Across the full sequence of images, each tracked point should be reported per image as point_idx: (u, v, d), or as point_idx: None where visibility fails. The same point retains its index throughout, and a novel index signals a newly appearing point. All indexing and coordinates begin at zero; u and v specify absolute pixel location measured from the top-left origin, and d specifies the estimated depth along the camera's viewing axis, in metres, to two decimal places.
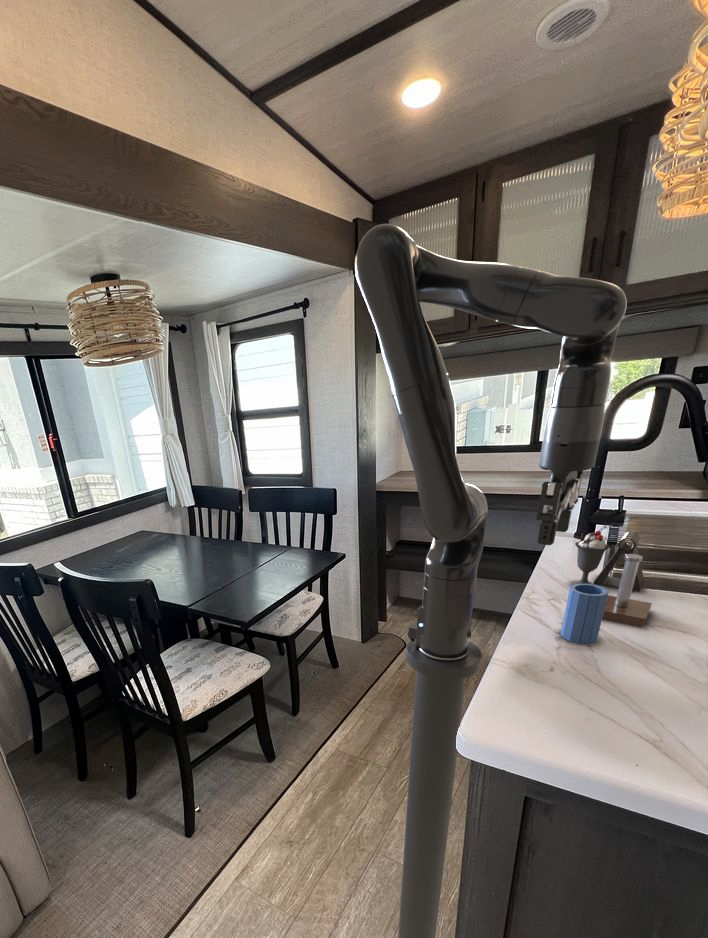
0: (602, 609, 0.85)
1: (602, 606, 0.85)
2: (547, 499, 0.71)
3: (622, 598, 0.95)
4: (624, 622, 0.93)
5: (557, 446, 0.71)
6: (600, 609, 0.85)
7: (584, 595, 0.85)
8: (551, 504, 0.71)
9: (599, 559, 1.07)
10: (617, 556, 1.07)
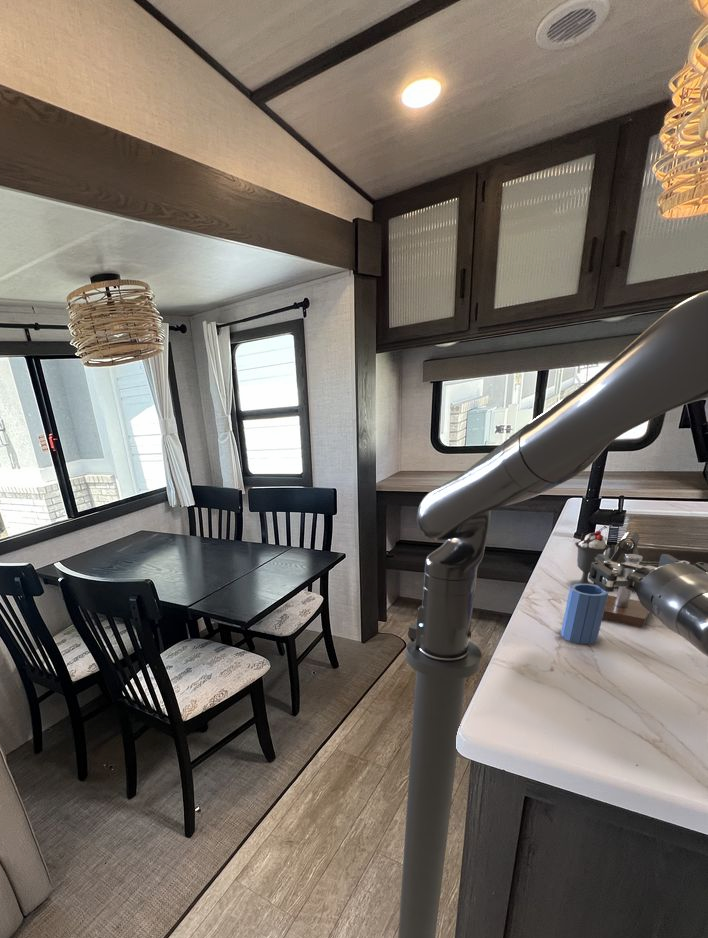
0: (602, 609, 0.85)
1: (602, 606, 0.85)
2: (599, 576, 0.67)
3: (622, 598, 0.95)
4: (624, 622, 0.93)
5: (653, 592, 0.60)
6: (600, 609, 0.85)
7: (584, 595, 0.85)
8: (596, 578, 0.68)
9: None
10: (617, 556, 1.07)
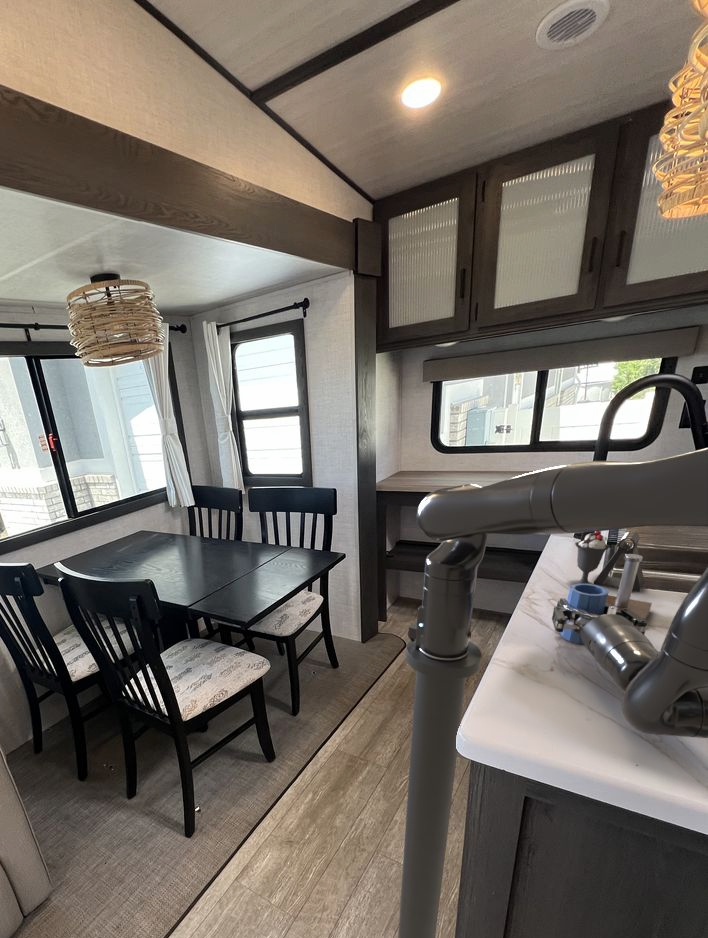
0: (602, 609, 0.85)
1: (602, 606, 0.85)
2: (555, 618, 0.85)
3: (622, 598, 0.95)
4: None
5: (591, 637, 0.77)
6: (600, 609, 0.85)
7: (584, 595, 0.85)
8: (553, 620, 0.86)
9: (599, 559, 1.07)
10: (617, 556, 1.07)
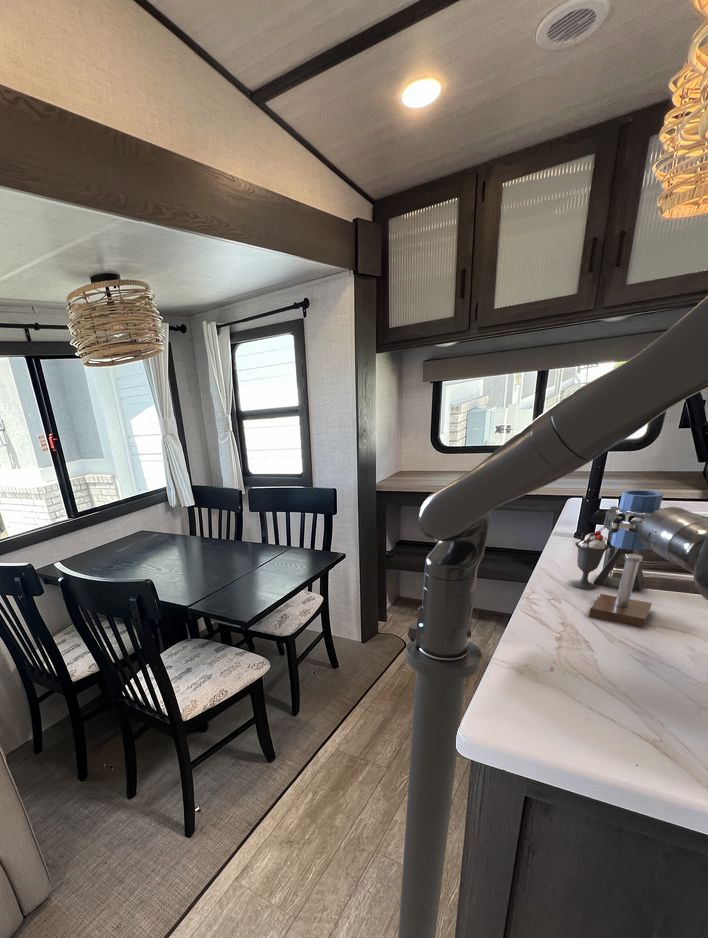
0: None
1: (657, 508, 0.84)
2: (608, 521, 0.84)
3: (622, 598, 0.95)
4: (624, 622, 0.93)
5: (650, 529, 0.76)
6: None
7: (638, 497, 0.83)
8: (606, 523, 0.85)
9: (599, 559, 1.07)
10: (617, 556, 1.07)
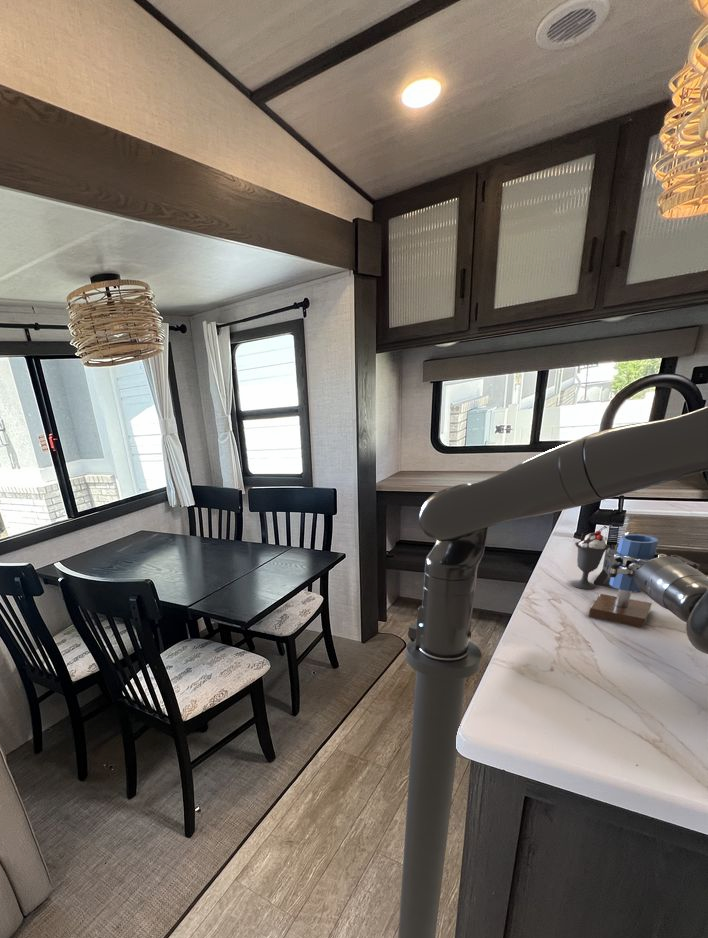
0: (652, 556, 0.89)
1: (652, 553, 0.89)
2: (607, 565, 0.89)
3: (622, 598, 0.95)
4: (624, 622, 0.93)
5: (646, 578, 0.81)
6: (650, 556, 0.89)
7: (635, 543, 0.89)
8: (605, 567, 0.90)
9: (599, 559, 1.07)
10: None
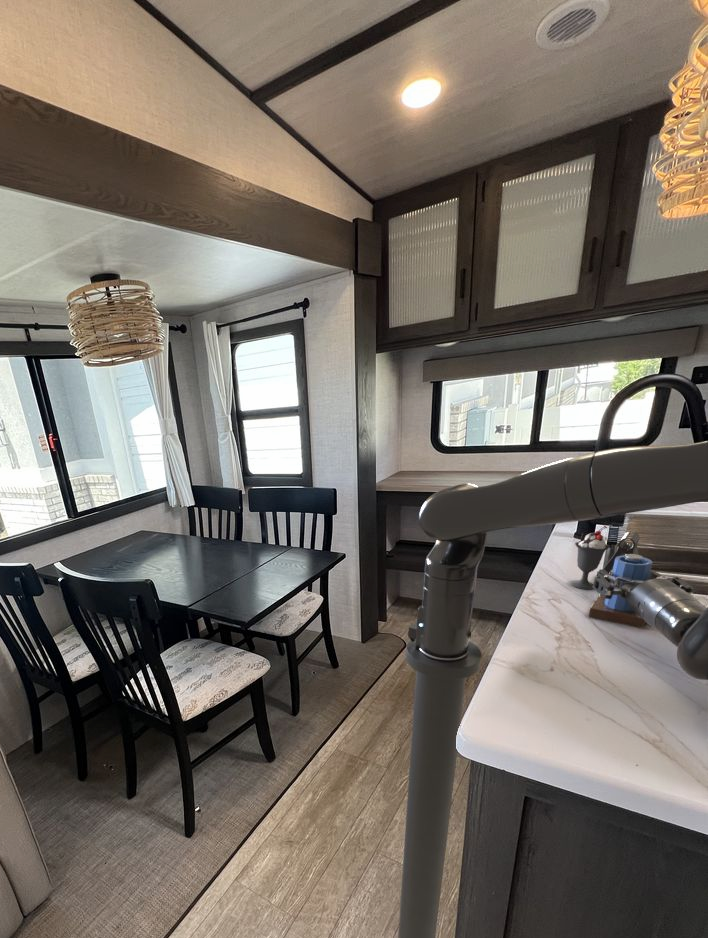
0: (646, 578, 0.91)
1: (646, 575, 0.91)
2: (600, 587, 0.90)
3: None
4: (624, 622, 0.93)
5: (639, 600, 0.83)
6: (644, 578, 0.91)
7: (630, 565, 0.91)
8: (598, 588, 0.91)
9: (599, 559, 1.07)
10: None
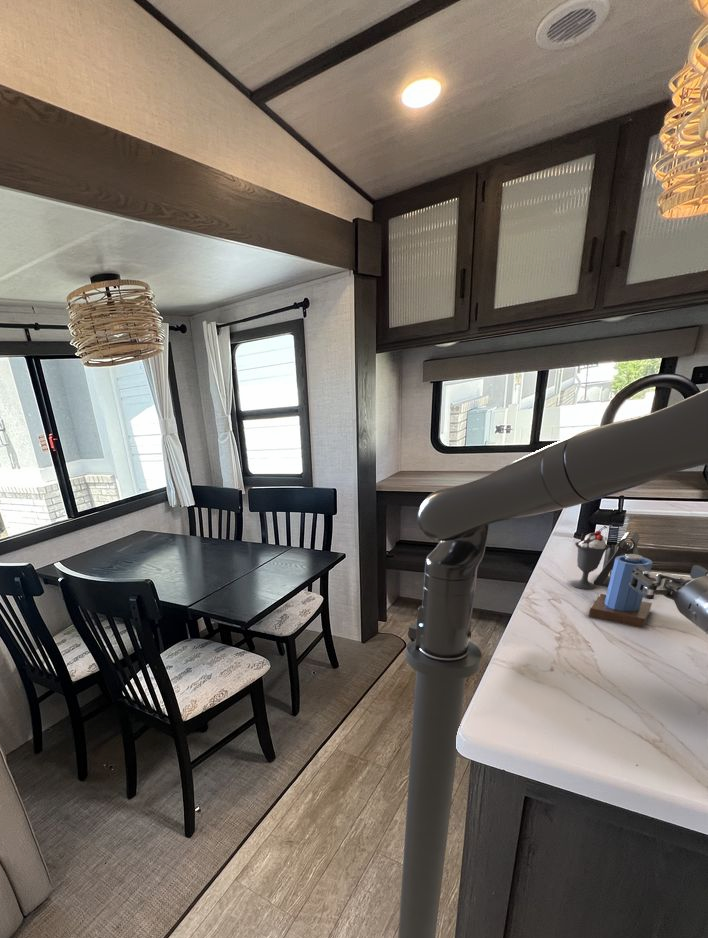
0: None
1: None
2: (640, 585, 0.77)
3: None
4: (624, 622, 0.93)
5: (691, 601, 0.69)
6: None
7: (630, 565, 0.91)
8: (636, 587, 0.78)
9: (599, 559, 1.07)
10: None
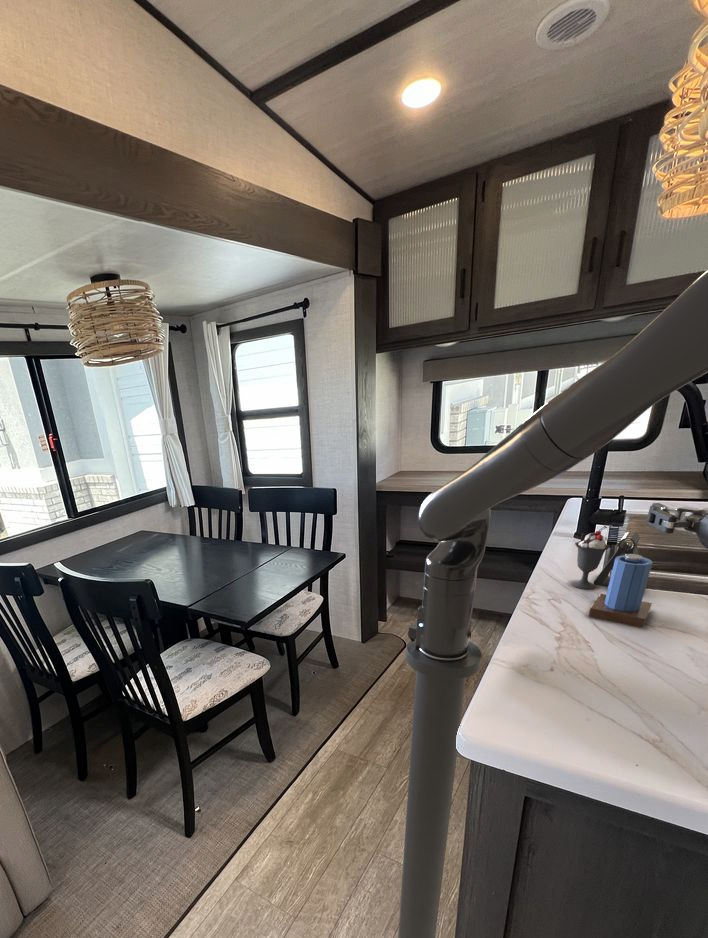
0: (646, 578, 0.91)
1: (646, 575, 0.91)
2: (658, 519, 0.72)
3: None
4: (624, 622, 0.93)
5: None
6: (644, 578, 0.91)
7: (630, 565, 0.91)
8: (654, 522, 0.73)
9: (599, 559, 1.07)
10: None
